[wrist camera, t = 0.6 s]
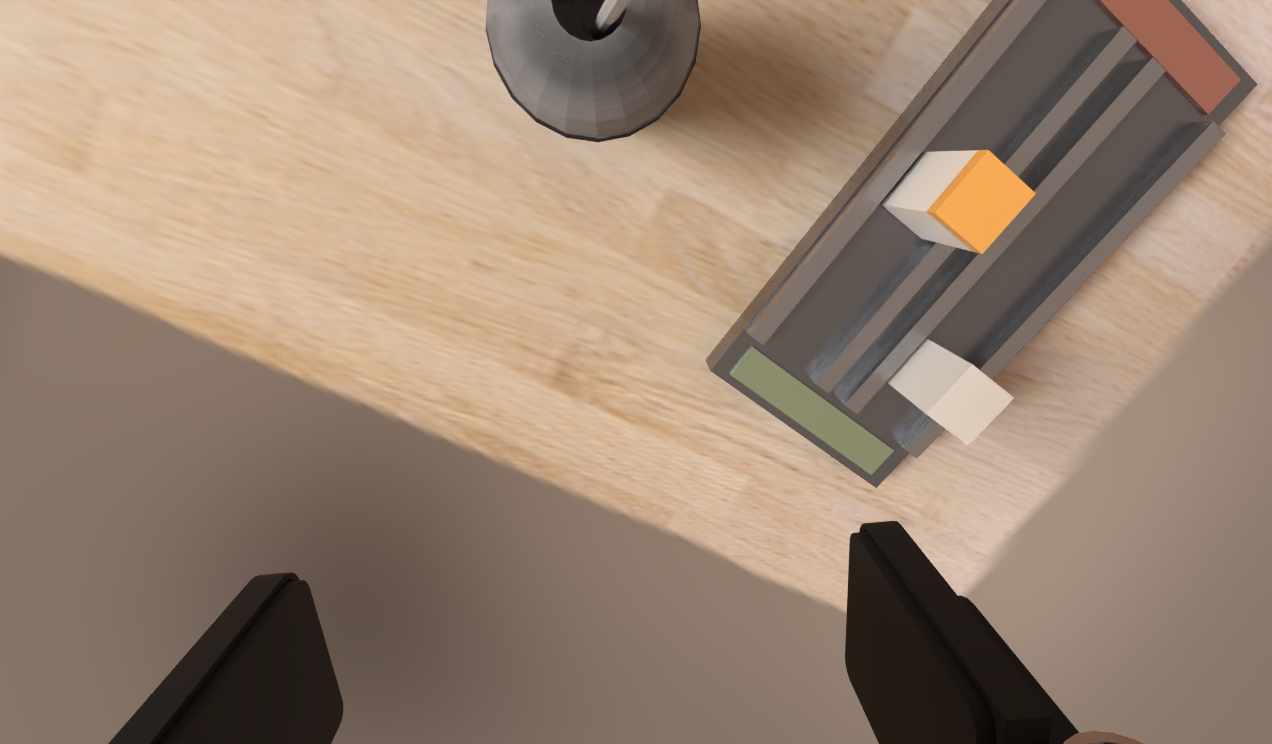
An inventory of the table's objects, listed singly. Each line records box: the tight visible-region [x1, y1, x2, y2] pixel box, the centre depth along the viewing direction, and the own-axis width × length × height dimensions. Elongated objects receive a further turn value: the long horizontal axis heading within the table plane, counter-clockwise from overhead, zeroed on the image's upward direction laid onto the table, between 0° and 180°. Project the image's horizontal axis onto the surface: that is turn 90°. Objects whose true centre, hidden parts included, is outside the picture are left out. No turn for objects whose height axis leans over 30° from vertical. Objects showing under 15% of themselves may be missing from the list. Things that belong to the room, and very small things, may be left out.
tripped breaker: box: [881, 150, 1036, 254], centre depth 30 cm, size 3×3×6 cm
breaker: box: [887, 338, 1014, 446], centre depth 33 cm, size 3×3×5 cm
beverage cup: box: [486, 0, 701, 142], centre depth 22 cm, size 7×7×20 cm
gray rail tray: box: [706, 0, 1257, 488], centre depth 34 cm, size 28×13×3 cm, turn 144°
